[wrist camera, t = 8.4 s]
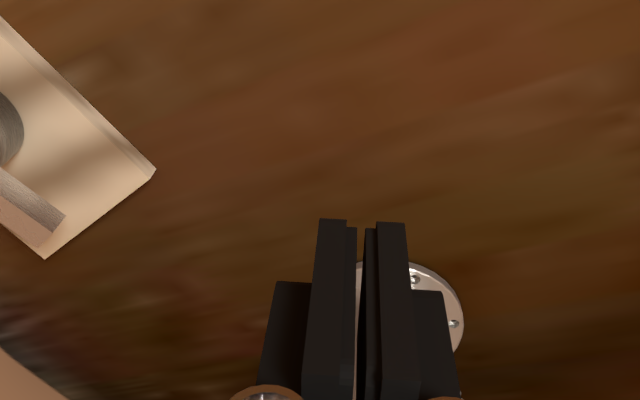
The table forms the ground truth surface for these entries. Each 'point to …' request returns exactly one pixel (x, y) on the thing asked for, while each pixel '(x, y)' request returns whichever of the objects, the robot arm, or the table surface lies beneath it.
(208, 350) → the table surface
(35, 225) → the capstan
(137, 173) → the stand
